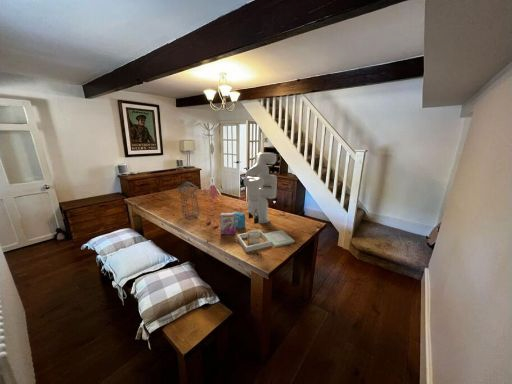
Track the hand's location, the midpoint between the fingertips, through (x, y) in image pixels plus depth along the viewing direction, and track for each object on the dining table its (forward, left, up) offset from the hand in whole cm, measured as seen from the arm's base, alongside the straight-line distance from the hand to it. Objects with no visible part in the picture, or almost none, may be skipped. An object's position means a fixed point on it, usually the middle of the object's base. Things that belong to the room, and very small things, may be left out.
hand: (253, 220), depth 137 cm
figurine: (-43, -18, -18) cm, 50 cm away
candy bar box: (-21, -13, -18) cm, 30 cm away
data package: (-29, -2, -18) cm, 34 cm away
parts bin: (0, 0, -17) cm, 17 cm away
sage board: (+3, +19, -17) cm, 26 cm away
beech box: (0, 0, -17) cm, 17 cm away
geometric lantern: (-64, -37, -18) cm, 76 cm away
